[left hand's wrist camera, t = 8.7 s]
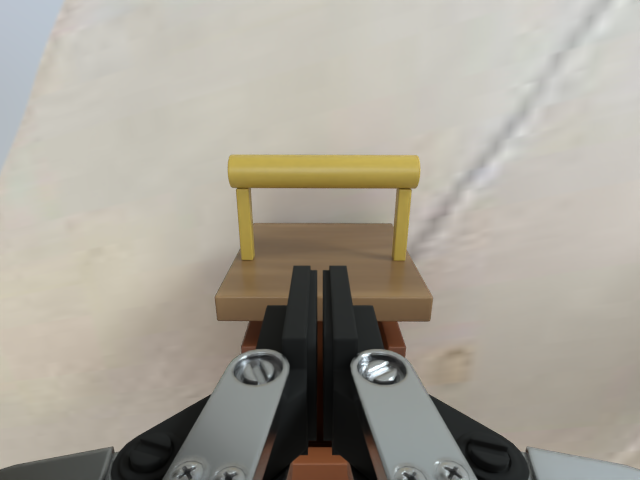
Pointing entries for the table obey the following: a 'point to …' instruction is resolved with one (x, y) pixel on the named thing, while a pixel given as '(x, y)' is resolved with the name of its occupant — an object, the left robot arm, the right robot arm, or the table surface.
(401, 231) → the drawer
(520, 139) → the table surface
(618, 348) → the table surface
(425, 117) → the table surface
